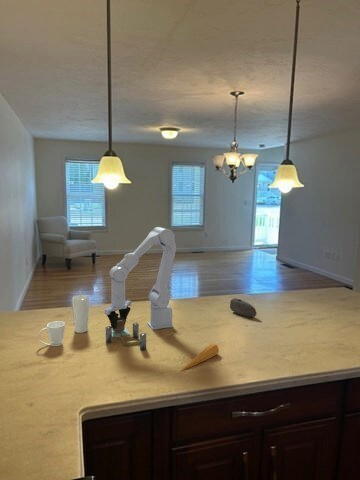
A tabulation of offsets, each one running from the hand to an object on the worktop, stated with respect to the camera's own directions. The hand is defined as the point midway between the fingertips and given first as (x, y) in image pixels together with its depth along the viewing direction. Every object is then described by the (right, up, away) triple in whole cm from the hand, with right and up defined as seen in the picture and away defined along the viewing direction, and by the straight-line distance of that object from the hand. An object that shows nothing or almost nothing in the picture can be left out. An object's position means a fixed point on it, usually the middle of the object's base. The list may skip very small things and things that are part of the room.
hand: (118, 326), depth 151 cm
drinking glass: (-16, -3, +2) cm, 16 cm away
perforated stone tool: (+57, -1, +25) cm, 63 cm away
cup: (-24, -5, -12) cm, 27 cm away
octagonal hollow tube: (0, -1, 0) cm, 1 cm away
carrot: (+33, -8, -23) cm, 41 cm away
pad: (0, -3, 0) cm, 3 cm away
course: (+5, -5, -12) cm, 13 cm away
